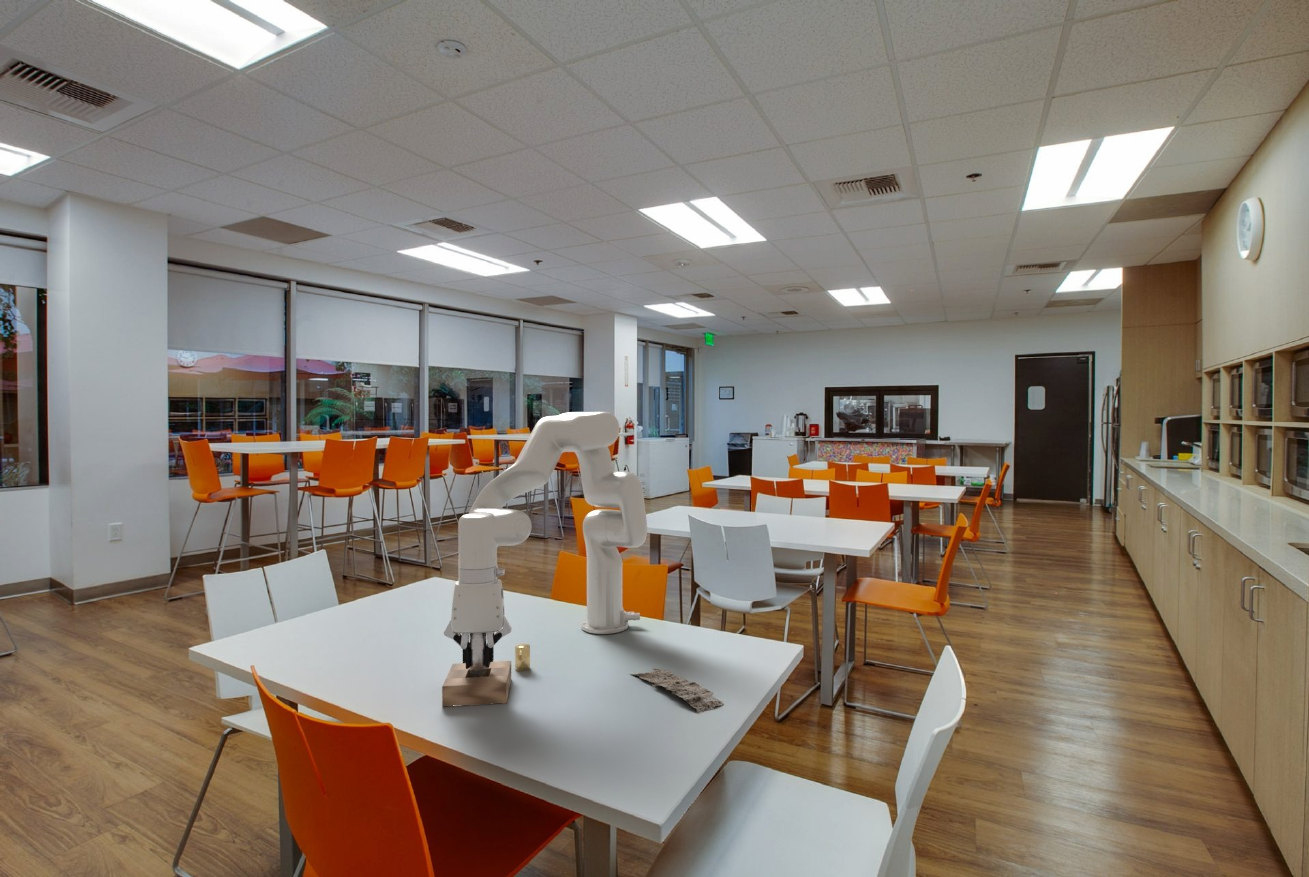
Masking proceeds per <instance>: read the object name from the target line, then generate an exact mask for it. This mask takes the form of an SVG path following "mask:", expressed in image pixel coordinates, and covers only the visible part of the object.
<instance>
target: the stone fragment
mask: <svg viewBox="0 0 1309 877" xmlns="http://www.w3.org/2000/svg"><path fill="white" fill-rule="evenodd" d="M651 669H652V670H653V671H650V672H643V673H642V672H641V673H640V672H639V673H634V674H630V675H631V676H632V675H633V676H637V677H639V678H640V679H643V680H646V681H648V682H649V683H652V684H651V685H652V687H658V686H660V687H661V686H662V687H664V689H666V690H669V691H671V694H672V695H676V696H678V697H679V698H682V699H683V700H684V701H685V702H686V704H689V706H690V707H692V708H694V709H696V714H699V713H704V712H705V711H713V710H714V709H715V707H719V706H724V703H723V701H722V700H719V699H718V698H716V697H715V696H713V695H714V694H715V693H714V692H713V691H711V690H708V689H707V688H705V687H703V686H702V685H700V684H698V683H696V682H694V681H689V680H687V679H685V677H681V676H679V675H677V674H675V673H673V672H672V671H670V670H669V671H668V670H665V669H664V670H661V669H658V668H654V667H652V668H651Z"/></svg>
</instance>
